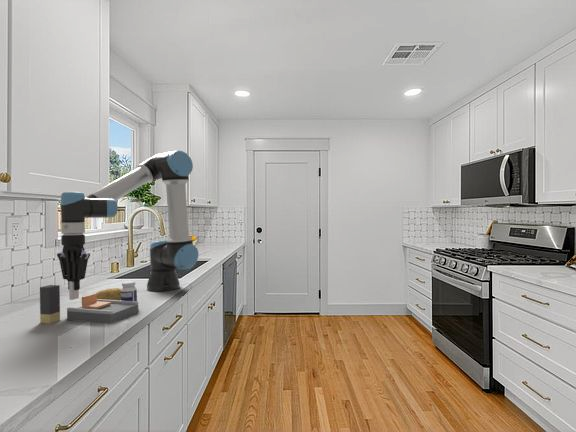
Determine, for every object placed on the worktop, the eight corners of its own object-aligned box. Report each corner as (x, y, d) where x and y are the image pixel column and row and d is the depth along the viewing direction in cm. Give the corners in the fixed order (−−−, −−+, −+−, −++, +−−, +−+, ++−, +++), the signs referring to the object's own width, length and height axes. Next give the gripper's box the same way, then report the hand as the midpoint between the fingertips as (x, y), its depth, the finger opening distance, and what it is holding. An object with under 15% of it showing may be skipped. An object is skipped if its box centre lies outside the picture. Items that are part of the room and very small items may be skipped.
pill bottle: (130, 305, 148) (129, 280, 148) (140, 306, 146) (140, 281, 146) (117, 308, 143) (117, 282, 143) (127, 310, 141) (127, 284, 141)
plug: (50, 319, 130) (50, 284, 129) (60, 320, 128) (59, 285, 128) (40, 322, 126) (39, 287, 126) (49, 323, 125) (49, 287, 125)
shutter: (95, 303, 138) (95, 293, 138) (111, 304, 137) (111, 294, 137) (80, 308, 132) (80, 297, 132) (96, 309, 130) (96, 298, 130)
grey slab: (97, 309, 142) (97, 299, 142) (138, 312, 138) (138, 301, 138) (67, 319, 129) (67, 308, 129) (110, 323, 124) (110, 311, 124)
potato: (124, 304, 150) (124, 288, 150) (93, 307, 145) (93, 291, 145) (123, 300, 156) (122, 286, 156) (93, 304, 151) (93, 288, 151)
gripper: (50, 234, 135) (51, 300, 135) (79, 235, 131) (80, 302, 131) (67, 233, 142) (68, 295, 142) (95, 233, 138) (96, 297, 139)
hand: (74, 298), depth 137 cm, fingers closed
